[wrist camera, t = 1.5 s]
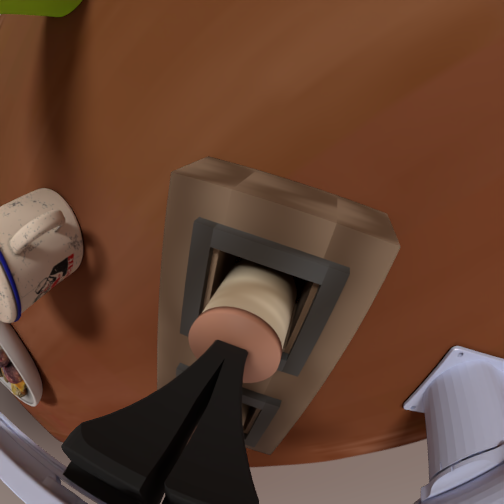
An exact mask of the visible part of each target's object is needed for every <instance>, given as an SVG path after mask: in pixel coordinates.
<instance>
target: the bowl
mask: <svg viewBox="0 0 504 504" xmlns="http://www.w3.org/2000/svg"><path fill="white" fill-rule="evenodd" d="M0 381H1V382H2V383H3V384H4V385H5V386H6V387H7V388H8V389H9V390H10V391H11V392H12V393H13V394H14V395H15V396H17V397H18V398H19V399H20V400H22V401H23V402H25V403H26V404H28V405H30V406H36V405H37V404H38V403H39V401H40V399H41V397H42V391H43V388H42V381H41V378H40V375H39V372H38V370H37V367H36V365H35V363H34V361H33V360H32V358H31V356H30V354H29V352H28V351H27V349H26V347H25V346H24V344H23V343H22V341H21V340H20V338H19V336H18V335H17V333H16V332H15V330H14V329H13V328H12V326H11V325H10V323H5V322H2V321H0Z"/></svg>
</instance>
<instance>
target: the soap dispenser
mask: <svg viewBox="0 0 504 504" xmlns="http://www.w3.org/2000/svg"><path fill="white" fill-rule="evenodd" d="M82 1H83V0H0V14H23V15H39V16H50V17H62V16H65V15H67V14H69V13H70V12H72V11H73V10H74V9H75V8H76V7H77V6H78V5H79V4H80V3H81V2H82Z"/></svg>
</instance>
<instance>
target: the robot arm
mask: <svg viewBox="0 0 504 504" xmlns="http://www.w3.org/2000/svg"><path fill="white" fill-rule="evenodd" d="M459 353H460V354H459ZM247 356H248V352H247V350H245V349H242V348H239V347H237V346H234V345H231V344H228V343H226V342H223V341H221V340H215V341H214V343H213V344H212V345H211V346H210V347H209V348H208V349H207V350H206V352H205V353H204V354H203V355H202V356H200V357H199V358H198V359H197V360H196V361H195V362H194V363H193V364H192V365H191V366H189V367H188V368H187V369H186V370H185V371H184V372H182V373H181V374H180V375H178V376H177V377H176V378H174V379H173V380H172V381H170V382H169V383H168V384H166V385H165V386H163V387H162V388H160V389H159V390H157V391H155V392H154V393H152V394H150V395H149V396H147V397H145V398H143V399H141V400H139V401H138V402H136V403H134V404H132V405H130V406H127V407H125V408H123V409H120V410H118V411H116V412H113V413H111V414H108V415H105V416H102V417H99V418H96V419H93V420H89V421H86V422H83V423H81V424H80V425H79V426H78V427H76V428H75V429H74V430H73V431H72V432H71V433H70V435H69V436H68V437H67V439H66V440H65V442H64V443H63V444H62V450H63V451H64V453H65V454H66V455H67V456H68V458H69V459H70V460H71V462H70V464H69V465H68V467H66V466H65V465H63V464H62V463H60V462H59V461H58V460H56V459H55V458H54V457H52V456H51V455H50V454H48V453H47V452H46V451H45V450H43V449H42V448H41V447H39V446H38V445H37V444H36V443H35V442H33V441H32V440H31V439H30V438H29V437H28V436H26V435H25V434H24V433H23V432H22V431H21V430H20V429H18V428H17V427H16V426H15V425H14V424H13V423H12V422H11V421H10V420H9V419H8V418H7V417H6V416H4V414H2V413H1V412H0V479H1V480H2V481H3V482H4V483H5V484H6V485H7V486H8V487H9V488H10V489H11V490H12V491H13V492H14V493H15V494H16V495H17V496H18V497H19V498H20V499H21V500H23V502H24V503H26V504H87V503H86V502H85V501H83V500H82V499H81V498H79V497H78V496H77V495H75V494H74V493H73V492H71V491H70V490H68V489H67V488H66V487H64V486H63V485H61V481H60V479H61V480H62V481H64V482H65V483H67V484H68V485H70V486H71V487H73V488H74V489H76V490H77V491H79V492H80V493H81V494H83V495H85V496H86V497H88V498H89V499H91V500H93V501H94V502H96V503H97V504H160V502H161V500H162V497H163V495H164V493H165V498H164V500H163V502H162V504H259V500H258V497H257V494H256V491H255V487H254V484H253V480H252V476H251V472H250V468H249V463H248V458H247V453H246V448H245V441H244V432H243V421H242V383H243V374H244V367H245V362H246V358H247ZM404 409H407V410H412V411H417V412H422V413H425V422H426V432H427V444H428V460H429V484H427V485H426V486H423V487H421V498H420V499H419V500H417V501H416V502H415V503H414V504H504V359H502V358H498V357H494V356H491V355H488V354H484V353H481V352H477V351H474V350H470V349H467V348H464V347H460V346H454V347H452V348H451V349H450V351H449V352H448V353H447V354H446V356H445V357H444V358H443V359H442V361H441V362H440V363H439V364H438V366H437V367H436V368H435V369H434V370H433V372H432V373H431V374H430V375H429V376H428V377H427V379H426V380H425V381H424V382H423V383H422V384H421V385H420V387H419V388H418V389H417V390H416V391H415V392H414V393H413V394H412V395H411V396H410V397H409V398H408V400H407V401H406V402H405V403H404ZM196 426H197V427H196ZM195 428H196V429H195ZM194 430H195V431H194ZM193 431H194V432H193ZM192 433H193V434H192ZM191 435H192V436H191ZM190 437H191V438H190ZM189 439H190V440H189ZM188 441H189V442H188ZM59 478H60V479H59Z"/></svg>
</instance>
